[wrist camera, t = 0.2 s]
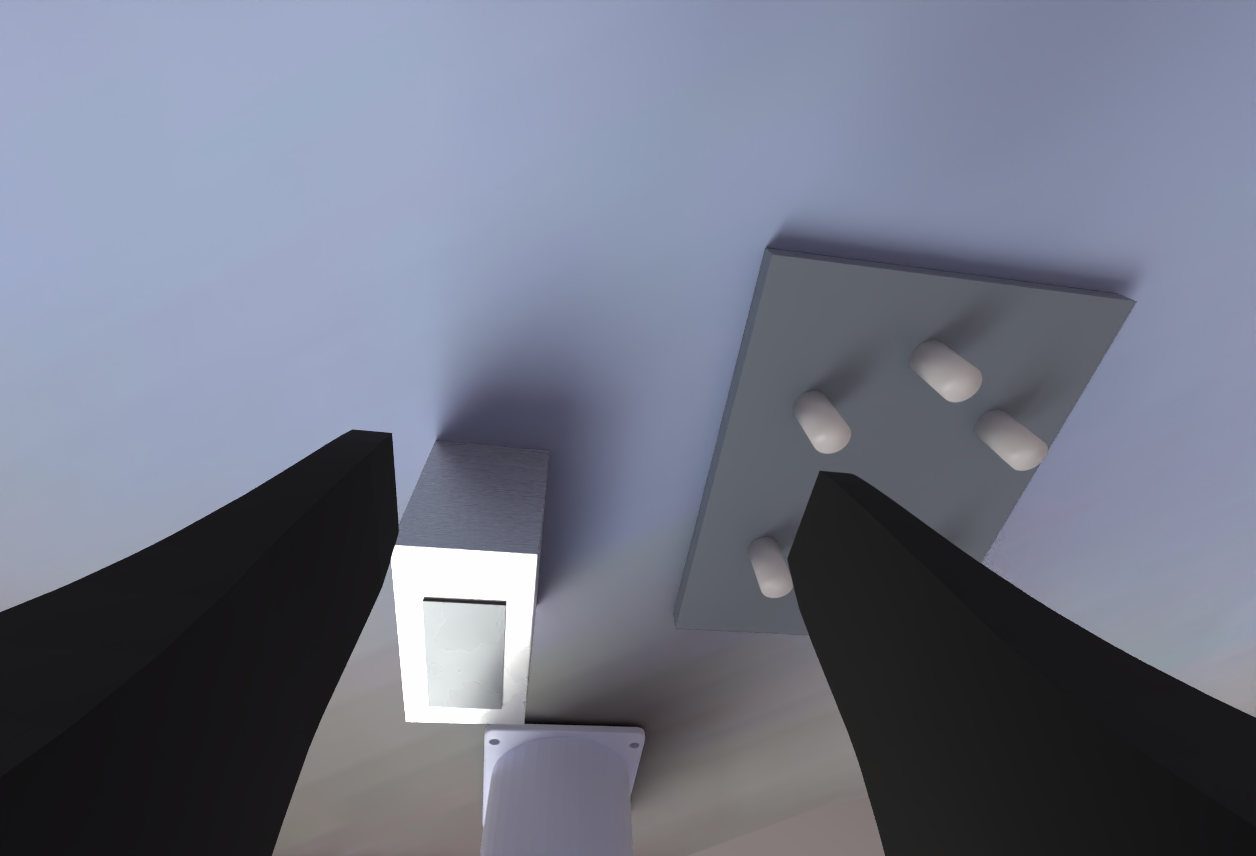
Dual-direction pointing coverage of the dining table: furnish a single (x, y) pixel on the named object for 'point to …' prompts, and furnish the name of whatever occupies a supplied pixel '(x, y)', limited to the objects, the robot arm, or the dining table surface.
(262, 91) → the dining table surface
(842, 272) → the grey knobbed plate
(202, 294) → the dining table surface
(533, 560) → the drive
